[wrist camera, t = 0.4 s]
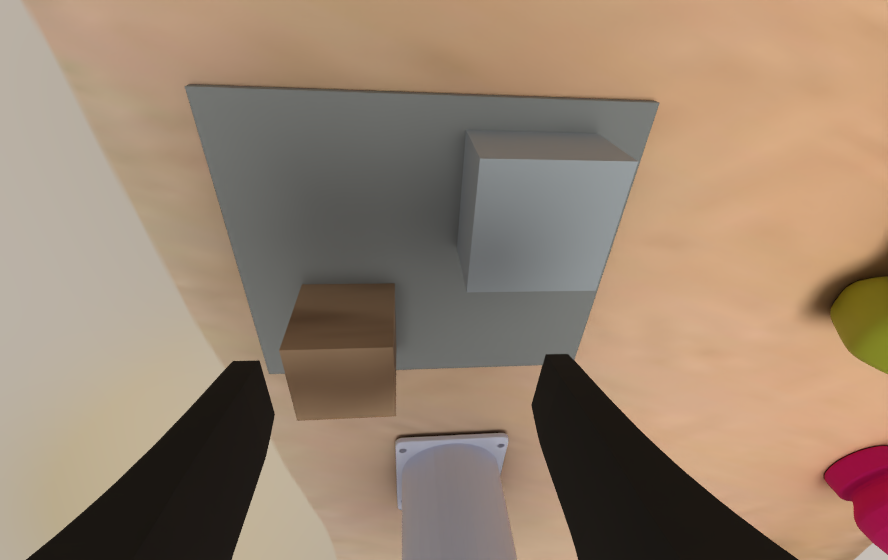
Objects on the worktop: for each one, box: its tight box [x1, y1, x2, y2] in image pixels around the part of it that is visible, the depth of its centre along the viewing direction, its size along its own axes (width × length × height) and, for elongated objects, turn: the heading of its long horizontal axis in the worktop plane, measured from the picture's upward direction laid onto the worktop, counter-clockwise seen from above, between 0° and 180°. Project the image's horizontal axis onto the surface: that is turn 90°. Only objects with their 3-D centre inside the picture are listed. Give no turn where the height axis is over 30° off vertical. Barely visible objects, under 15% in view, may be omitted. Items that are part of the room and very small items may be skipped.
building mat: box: [185, 84, 659, 374], centre depth 20 cm, size 15×18×1 cm
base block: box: [457, 130, 638, 292], centre depth 16 cm, size 6×6×4 cm
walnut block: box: [279, 283, 396, 421], centre depth 19 cm, size 4×4×4 cm
